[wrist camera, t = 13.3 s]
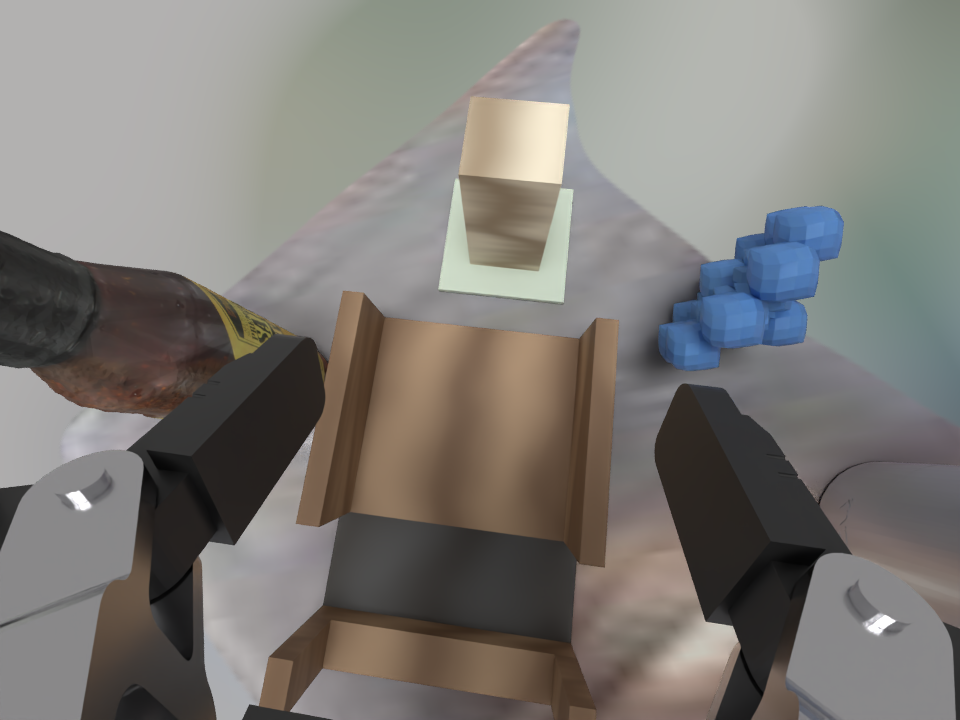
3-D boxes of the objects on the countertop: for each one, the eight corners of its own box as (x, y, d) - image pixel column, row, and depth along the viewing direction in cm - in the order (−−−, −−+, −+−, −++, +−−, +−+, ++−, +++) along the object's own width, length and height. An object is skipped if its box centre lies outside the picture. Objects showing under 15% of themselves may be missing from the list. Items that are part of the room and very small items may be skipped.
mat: (572, 192, 31) (573, 189, 30) (562, 304, 29) (563, 302, 28) (455, 182, 31) (455, 178, 31) (439, 291, 29) (438, 289, 29)
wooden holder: (590, 347, 28) (618, 320, 22) (566, 687, 24) (592, 775, 18) (375, 324, 29) (343, 290, 23) (317, 647, 25) (256, 717, 19)
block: (544, 215, 30) (569, 104, 20) (538, 271, 29) (561, 184, 19) (478, 208, 30) (470, 96, 20) (470, 264, 29) (458, 174, 20)
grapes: (685, 426, 27) (834, 414, 15) (606, 360, 28) (688, 300, 16) (786, 304, 28) (994, 206, 17) (708, 245, 29) (850, 114, 18)
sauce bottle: (350, 360, 29) (47, 182, 9) (311, 443, 27) (-128, 442, 8) (270, 327, 29) (-170, 99, 10) (229, 407, 28) (-360, 327, 9)
